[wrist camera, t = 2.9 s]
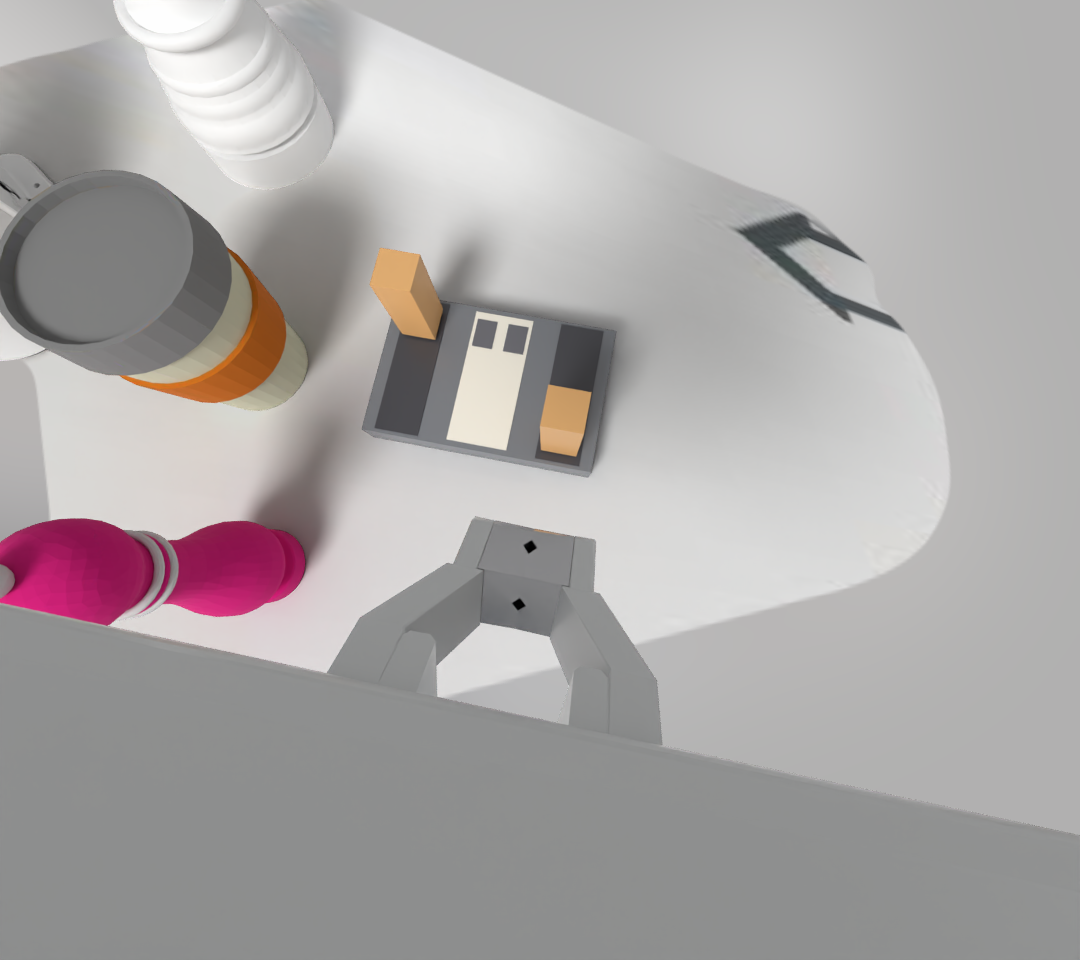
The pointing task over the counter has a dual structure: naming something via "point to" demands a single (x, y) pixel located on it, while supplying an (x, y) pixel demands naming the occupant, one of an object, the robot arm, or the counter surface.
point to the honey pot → (235, 86)
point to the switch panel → (489, 385)
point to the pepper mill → (146, 569)
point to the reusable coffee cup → (145, 294)
